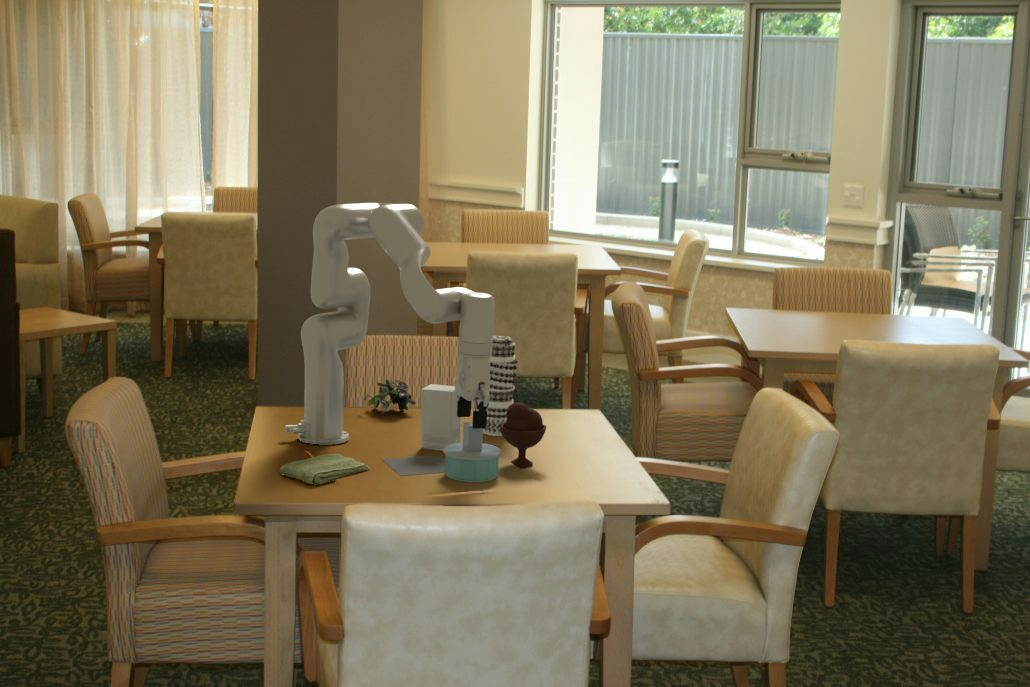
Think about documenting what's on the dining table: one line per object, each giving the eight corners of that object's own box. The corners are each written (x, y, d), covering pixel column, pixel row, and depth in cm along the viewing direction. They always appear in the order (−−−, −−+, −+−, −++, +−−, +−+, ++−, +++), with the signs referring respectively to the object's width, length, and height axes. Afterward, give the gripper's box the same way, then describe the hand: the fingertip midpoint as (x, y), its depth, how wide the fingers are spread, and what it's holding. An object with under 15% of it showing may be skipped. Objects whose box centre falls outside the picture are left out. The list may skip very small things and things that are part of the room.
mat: (400, 478, 284) (400, 475, 284) (381, 461, 296) (381, 459, 296) (458, 473, 289) (458, 471, 289) (438, 457, 302) (438, 455, 302)
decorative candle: (508, 438, 322) (512, 341, 318) (474, 433, 325) (477, 338, 321) (519, 430, 331) (523, 336, 326) (486, 426, 334) (489, 332, 329)
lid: (455, 462, 278) (456, 432, 277) (435, 447, 290) (436, 418, 288) (509, 458, 283) (510, 429, 282) (487, 444, 295) (489, 415, 294)
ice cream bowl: (512, 473, 291) (515, 410, 289) (491, 460, 301) (493, 399, 298) (552, 468, 296) (555, 406, 293) (530, 456, 306) (532, 396, 303)
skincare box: (460, 448, 311) (462, 386, 308) (450, 454, 305) (452, 391, 302) (429, 444, 314) (431, 382, 311) (418, 450, 308) (420, 387, 305)
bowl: (456, 486, 280) (457, 462, 279) (438, 471, 290) (439, 448, 289) (505, 481, 284) (506, 458, 283) (486, 467, 295) (486, 444, 294)
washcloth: (373, 473, 288) (373, 460, 287) (314, 489, 275) (314, 475, 274) (334, 462, 296) (334, 448, 296) (275, 476, 283) (275, 462, 282)
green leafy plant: (400, 430, 347) (425, 398, 344) (376, 430, 338) (402, 398, 334) (376, 402, 352) (401, 370, 348) (352, 401, 342) (377, 369, 339)
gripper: (446, 340, 288) (442, 413, 292) (473, 357, 273) (469, 433, 276) (477, 340, 291) (472, 411, 295) (505, 356, 276) (501, 431, 279)
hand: (471, 422), depth 285 cm, fingers open, 9 cm apart
